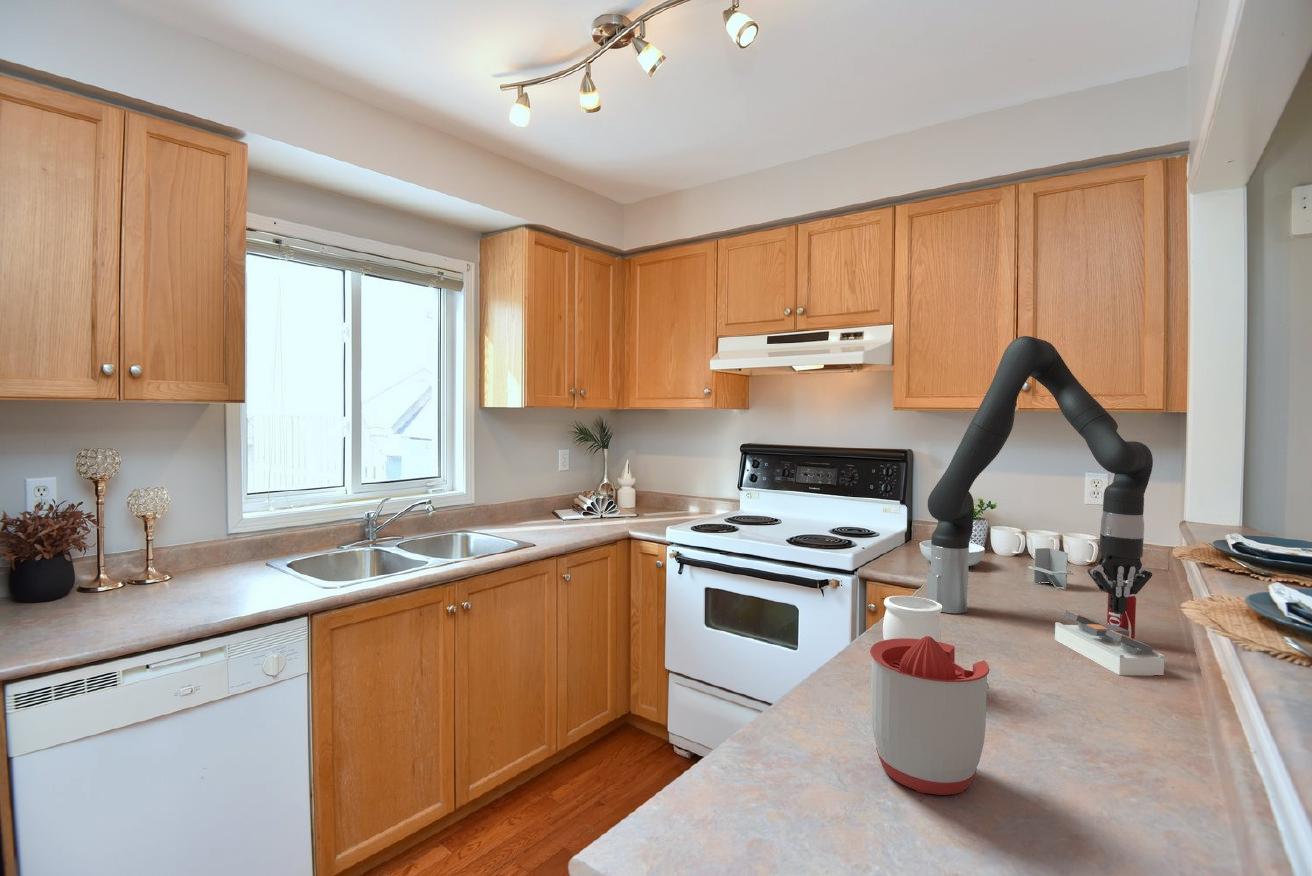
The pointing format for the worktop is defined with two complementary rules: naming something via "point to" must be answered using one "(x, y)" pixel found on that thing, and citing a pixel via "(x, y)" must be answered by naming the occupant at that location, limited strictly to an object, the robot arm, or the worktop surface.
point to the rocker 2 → (1129, 641)
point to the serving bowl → (974, 552)
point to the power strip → (1110, 651)
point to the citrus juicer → (927, 714)
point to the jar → (911, 618)
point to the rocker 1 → (1080, 618)
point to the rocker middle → (1104, 629)
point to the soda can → (1124, 616)
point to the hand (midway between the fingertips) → (1117, 612)
